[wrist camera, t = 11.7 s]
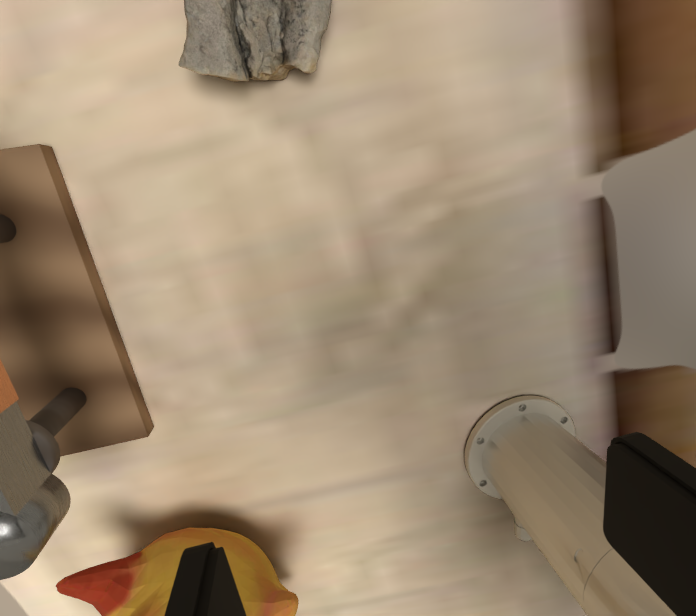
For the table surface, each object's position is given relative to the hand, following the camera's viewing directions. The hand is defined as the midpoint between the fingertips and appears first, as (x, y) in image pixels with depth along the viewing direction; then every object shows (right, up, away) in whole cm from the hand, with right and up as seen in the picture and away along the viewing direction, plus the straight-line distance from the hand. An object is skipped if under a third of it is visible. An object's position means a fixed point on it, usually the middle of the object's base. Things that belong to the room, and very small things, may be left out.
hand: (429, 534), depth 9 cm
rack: (-26, +5, +22) cm, 34 cm away
